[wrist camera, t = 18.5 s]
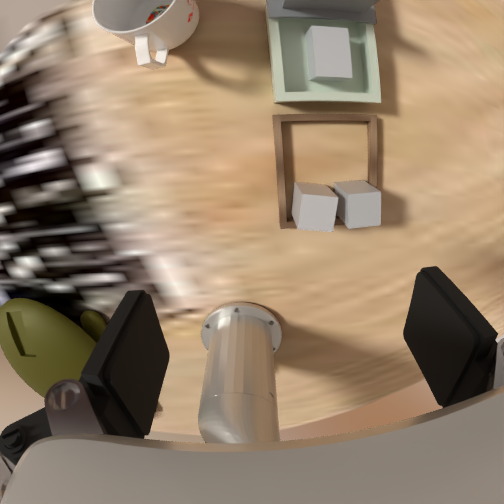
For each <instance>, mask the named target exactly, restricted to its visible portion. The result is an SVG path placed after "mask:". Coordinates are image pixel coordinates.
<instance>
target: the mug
mask: <svg viewBox="0 0 504 504" xmlns="http://www.w3.org/2000/svg"><path fill="white" fill-rule="evenodd" d="M92 14H93V18H94V20H95V22H96V23H97V25H98V26H99V27H100V28H102V29H103V30H105V31H107V32H109V33H111V34H113V35H115V36H117V37H119V38H121V39H123V40H125V41H127V42H129V43H131V44H133V45H135V49H136V55H137V61H138V66H143V67H146V68H149V69H152V70H155V69H159V68H163V67H165V66H166V64H167V58H168V52H169V50H171V49H173V48H176V47H178V46H179V45H181V44H183V43H184V42H185V41H186V40H187V39H188V38H189V37H190V36H191V35H192V34H193V33H194V31H195V29H196V27H197V25H198V22H199V8H198V5H197V3H196V1H195V0H93V4H92ZM150 52H157V55H156V60H153V59H152V57H151V55H150Z"/></svg>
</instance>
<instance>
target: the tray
mask: <svg viewBox="0 0 504 504" xmlns="http://www.w3.org/2000/svg"><path fill="white" fill-rule="evenodd" d="M309 120H349V121H367V127H368V183H369V184H370V185H372V186H373V187H375V188H376V189H377V115H363V114H287V115H273V128H274V141H275V155H276V170H277V185H278V202H279V220H280V228H281V229H285V228H297V226H296V224H295V221H294V219H287V217H286V197H285V178H284V162H283V146H282V132H281V121H309ZM334 225H344V222H343V221H342V220H341V219H340V217H339V216H335V222H334Z"/></svg>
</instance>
